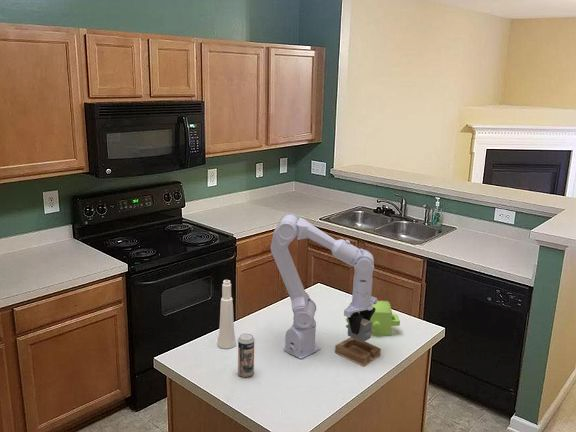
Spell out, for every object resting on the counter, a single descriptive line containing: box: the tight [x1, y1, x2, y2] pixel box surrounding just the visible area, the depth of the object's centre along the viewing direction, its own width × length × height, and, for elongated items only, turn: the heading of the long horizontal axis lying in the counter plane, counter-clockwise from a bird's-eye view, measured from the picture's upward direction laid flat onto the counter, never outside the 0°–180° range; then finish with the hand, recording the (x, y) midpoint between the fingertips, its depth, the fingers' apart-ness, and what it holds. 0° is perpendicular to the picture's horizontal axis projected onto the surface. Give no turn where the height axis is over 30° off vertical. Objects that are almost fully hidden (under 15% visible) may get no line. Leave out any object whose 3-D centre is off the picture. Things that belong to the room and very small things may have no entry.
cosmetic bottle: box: [216, 279, 237, 350], centre depth 171 cm, size 6×6×22 cm
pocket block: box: [334, 336, 382, 367], centre depth 171 cm, size 9×11×3 cm
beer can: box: [237, 333, 256, 378], centre depth 157 cm, size 5×5×12 cm
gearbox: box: [345, 300, 401, 337], centre depth 185 cm, size 18×10×10 cm, turn 90°
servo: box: [345, 318, 374, 342], centre depth 168 cm, size 4×8×6 cm, turn 46°
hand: (359, 330), depth 169 cm, fingers closed on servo, 4 cm apart
